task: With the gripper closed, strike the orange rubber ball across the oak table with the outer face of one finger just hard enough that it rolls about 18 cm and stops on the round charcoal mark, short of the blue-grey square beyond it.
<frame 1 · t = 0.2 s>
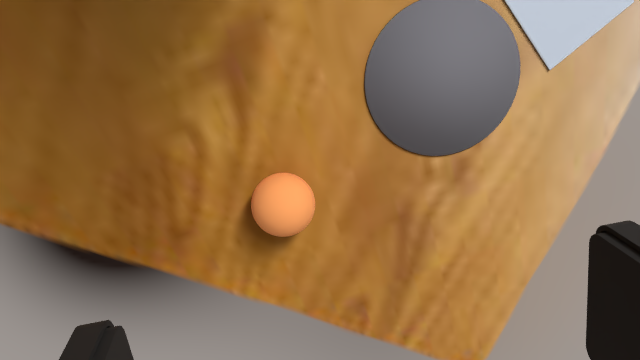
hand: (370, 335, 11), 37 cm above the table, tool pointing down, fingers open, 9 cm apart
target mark: (442, 78, 47), on the table
ball: (283, 204, 46), on the table
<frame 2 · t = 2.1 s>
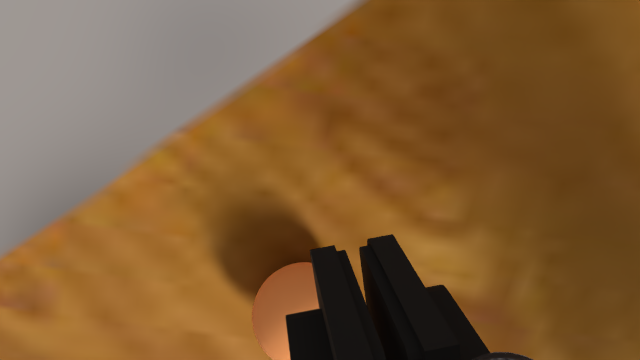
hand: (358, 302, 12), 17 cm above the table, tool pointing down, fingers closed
ball: (304, 314, 28), on the table
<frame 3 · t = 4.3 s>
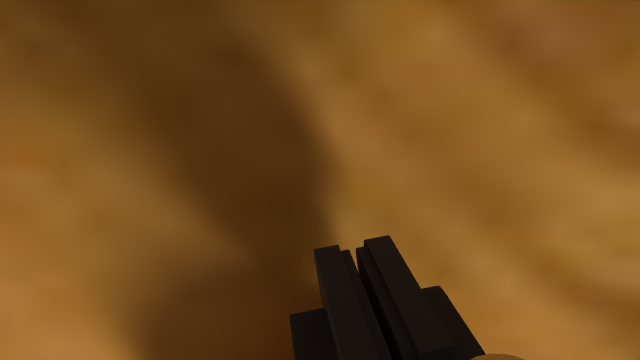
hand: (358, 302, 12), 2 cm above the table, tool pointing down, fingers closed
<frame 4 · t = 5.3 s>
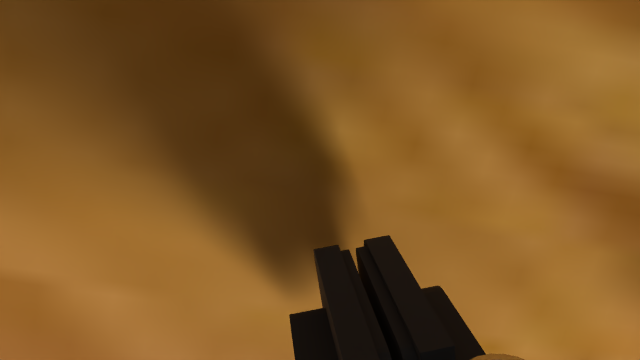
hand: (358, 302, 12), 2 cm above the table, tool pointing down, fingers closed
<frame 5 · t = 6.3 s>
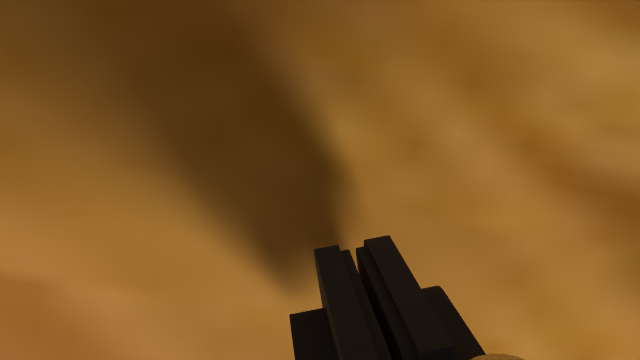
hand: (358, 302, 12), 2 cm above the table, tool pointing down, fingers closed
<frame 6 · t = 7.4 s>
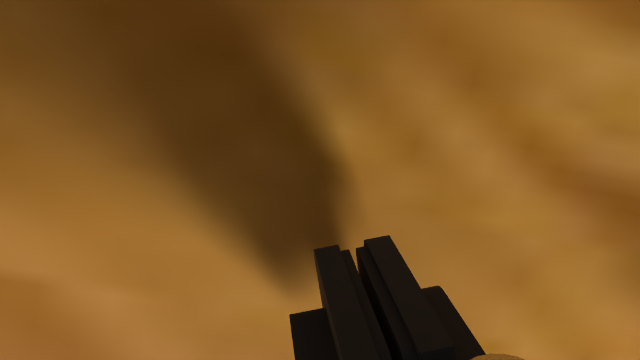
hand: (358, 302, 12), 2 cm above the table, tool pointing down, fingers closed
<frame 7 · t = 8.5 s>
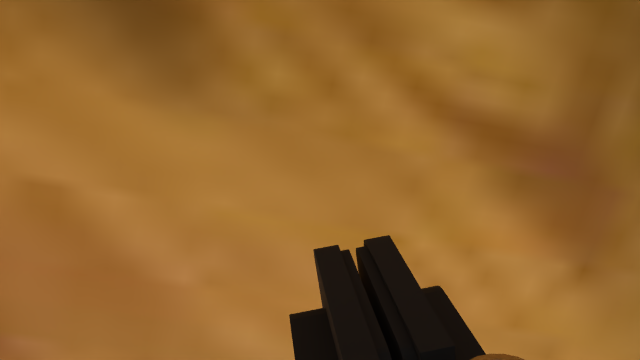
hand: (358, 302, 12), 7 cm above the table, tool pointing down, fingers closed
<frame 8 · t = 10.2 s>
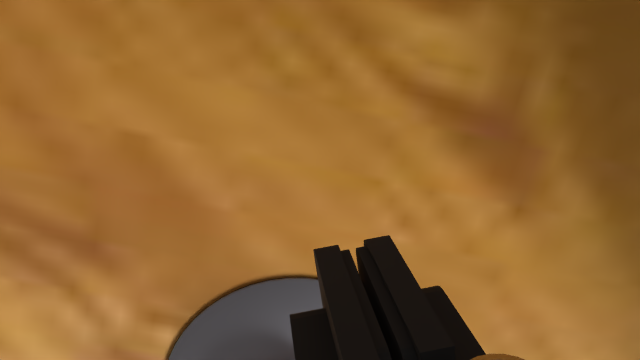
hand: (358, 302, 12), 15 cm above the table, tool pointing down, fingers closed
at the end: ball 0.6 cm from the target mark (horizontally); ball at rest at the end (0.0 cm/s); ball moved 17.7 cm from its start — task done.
